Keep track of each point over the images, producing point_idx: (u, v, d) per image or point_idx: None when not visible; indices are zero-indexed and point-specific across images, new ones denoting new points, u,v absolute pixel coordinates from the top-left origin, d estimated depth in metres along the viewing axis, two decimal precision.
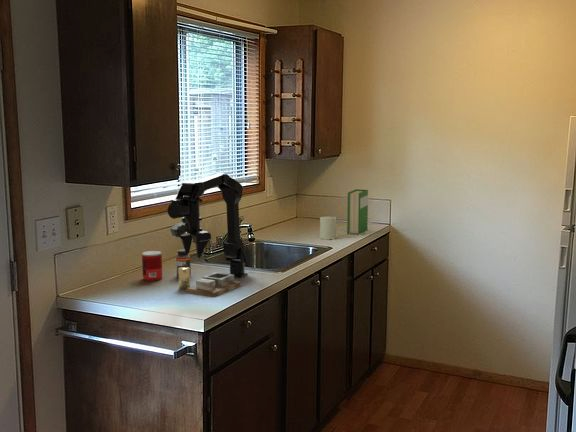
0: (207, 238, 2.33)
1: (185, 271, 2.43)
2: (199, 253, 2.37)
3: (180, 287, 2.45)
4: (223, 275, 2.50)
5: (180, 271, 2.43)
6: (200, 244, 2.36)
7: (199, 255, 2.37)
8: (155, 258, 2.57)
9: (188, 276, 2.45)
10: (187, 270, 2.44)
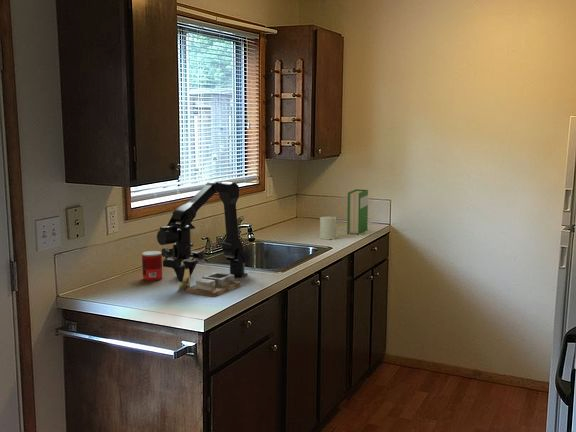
0: (170, 266, 2.36)
1: (185, 271, 2.43)
2: (179, 278, 2.43)
3: (180, 287, 2.45)
4: (223, 275, 2.50)
5: None
6: (178, 269, 2.42)
7: (179, 280, 2.43)
8: (155, 258, 2.57)
9: (188, 276, 2.45)
10: (187, 270, 2.44)
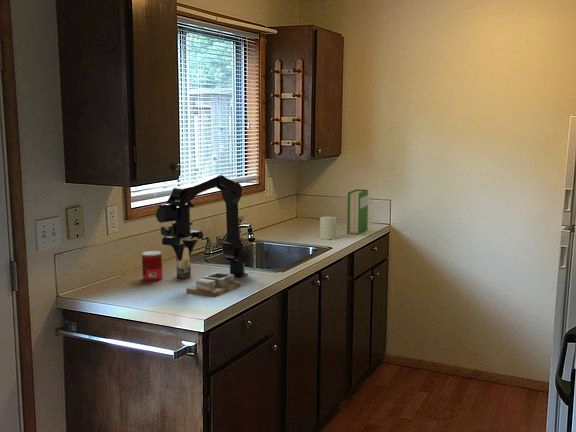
0: (169, 243, 2.35)
1: (184, 249, 2.42)
2: (178, 256, 2.42)
3: (179, 266, 2.43)
4: (223, 275, 2.50)
5: None
6: (177, 247, 2.41)
7: (178, 258, 2.42)
8: (155, 258, 2.57)
9: (187, 255, 2.43)
10: (186, 249, 2.42)
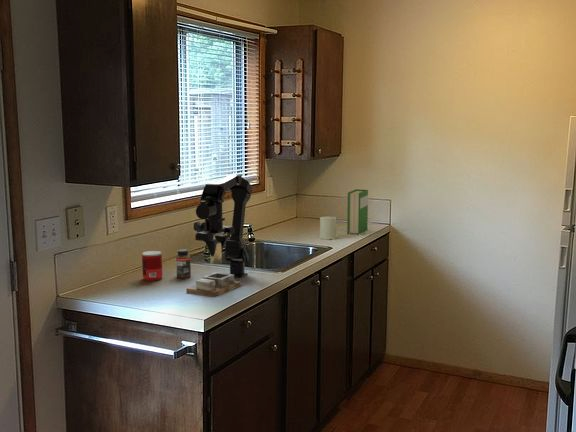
0: (203, 239, 2.37)
1: (217, 245, 2.44)
2: (210, 252, 2.44)
3: (212, 261, 2.45)
4: (223, 275, 2.50)
5: None
6: (210, 243, 2.43)
7: (211, 254, 2.44)
8: (155, 258, 2.57)
9: (220, 250, 2.45)
10: (219, 244, 2.44)
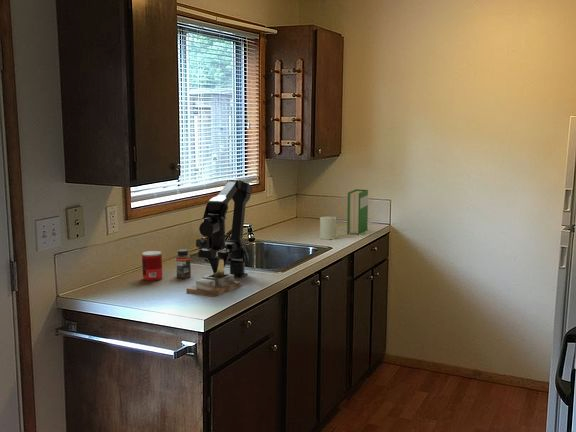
0: (206, 256, 2.38)
1: (219, 262, 2.45)
2: (213, 268, 2.45)
3: (214, 277, 2.46)
4: None
5: None
6: (213, 260, 2.44)
7: (214, 270, 2.45)
8: (155, 258, 2.57)
9: (222, 267, 2.46)
10: (221, 261, 2.45)
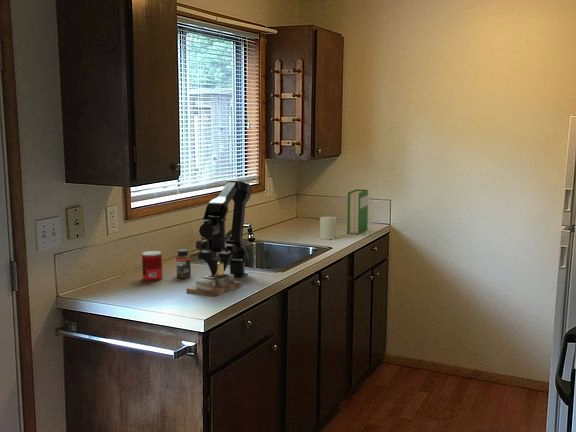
0: (206, 258, 2.38)
1: (219, 266, 2.45)
2: (212, 271, 2.44)
3: None
4: None
5: None
6: (211, 262, 2.43)
7: (212, 273, 2.44)
8: (155, 258, 2.57)
9: (222, 271, 2.46)
10: (221, 265, 2.46)
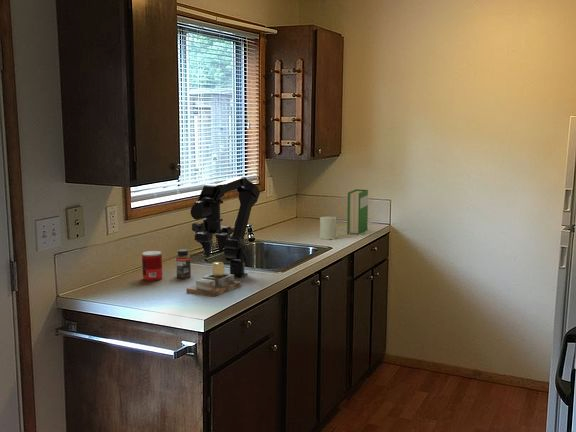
0: (202, 239, 2.42)
1: (219, 266, 2.45)
2: (206, 253, 2.47)
3: None
4: None
5: (214, 266, 2.45)
6: (205, 244, 2.46)
7: (207, 255, 2.47)
8: (155, 258, 2.57)
9: (222, 271, 2.46)
10: (221, 265, 2.46)
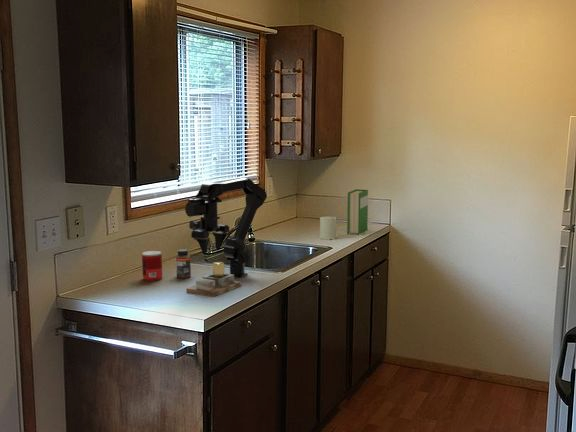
0: (199, 237, 2.45)
1: (220, 266, 2.45)
2: (202, 250, 2.51)
3: None
4: None
5: (215, 266, 2.45)
6: (202, 242, 2.49)
7: (203, 252, 2.51)
8: (155, 258, 2.57)
9: (223, 271, 2.46)
10: (222, 265, 2.46)
